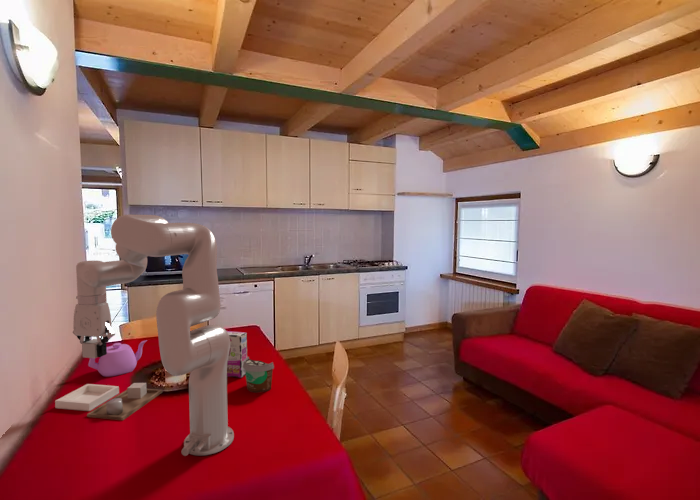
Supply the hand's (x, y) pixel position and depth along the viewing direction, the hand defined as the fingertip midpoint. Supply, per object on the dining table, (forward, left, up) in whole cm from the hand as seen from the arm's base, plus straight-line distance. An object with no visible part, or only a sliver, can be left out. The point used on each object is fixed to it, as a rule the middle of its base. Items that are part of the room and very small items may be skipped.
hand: (94, 354), depth 118 cm
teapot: (+24, +12, -16) cm, 31 cm away
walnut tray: (0, -11, -16) cm, 19 cm away
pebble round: (-6, -12, -15) cm, 20 cm away
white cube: (+5, -10, -15) cm, 19 cm away
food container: (+17, -47, -16) cm, 53 cm away
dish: (0, +3, -16) cm, 16 cm away
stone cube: (0, 0, 0) cm, 0 cm away
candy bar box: (+28, -33, -16) cm, 46 cm away
